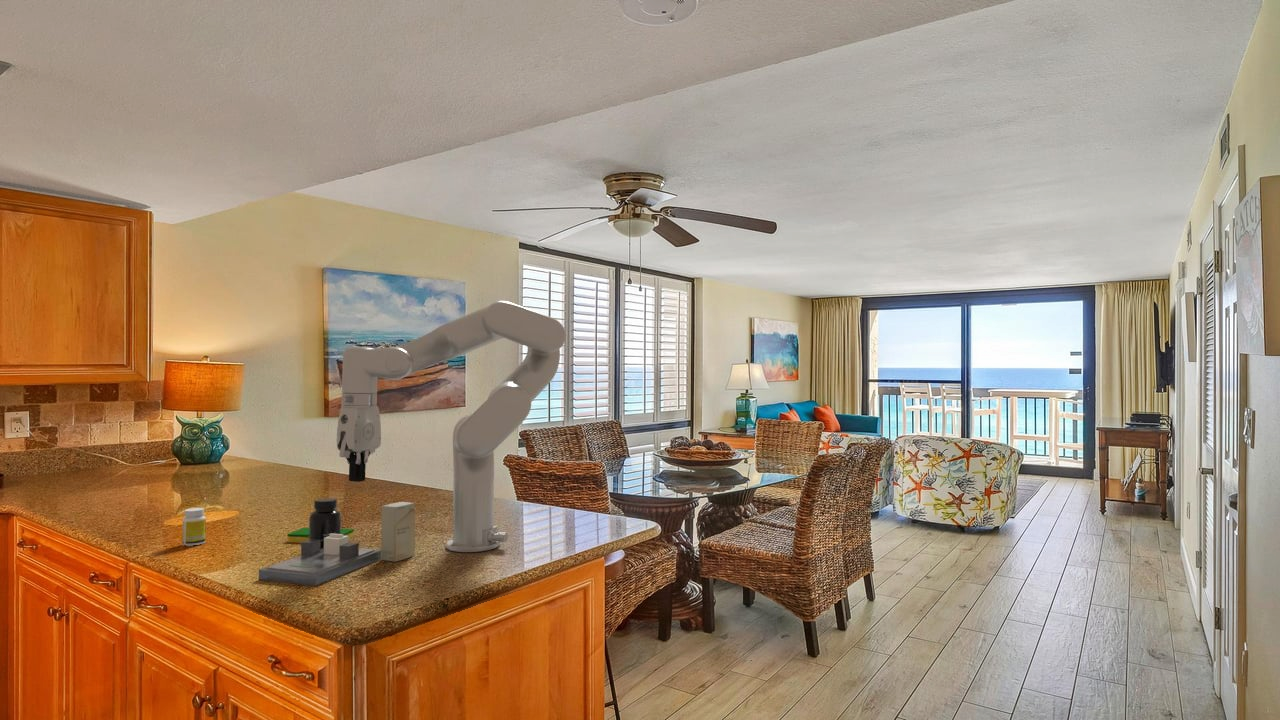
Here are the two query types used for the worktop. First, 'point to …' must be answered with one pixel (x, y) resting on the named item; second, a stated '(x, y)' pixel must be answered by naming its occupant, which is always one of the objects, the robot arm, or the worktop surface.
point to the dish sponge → (304, 534)
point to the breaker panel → (319, 564)
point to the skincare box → (398, 531)
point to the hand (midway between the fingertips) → (357, 480)
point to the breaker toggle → (334, 543)
